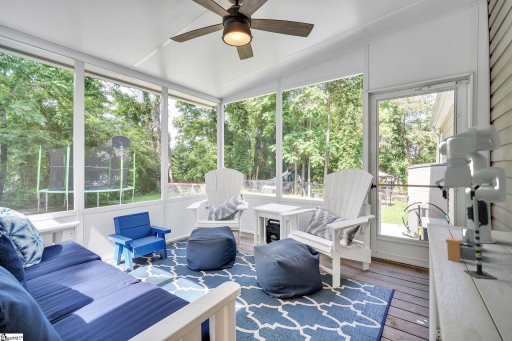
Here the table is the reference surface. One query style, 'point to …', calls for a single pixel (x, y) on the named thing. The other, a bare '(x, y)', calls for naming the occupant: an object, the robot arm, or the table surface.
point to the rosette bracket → (468, 244)
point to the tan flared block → (453, 249)
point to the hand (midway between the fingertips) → (458, 199)
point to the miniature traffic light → (478, 214)
